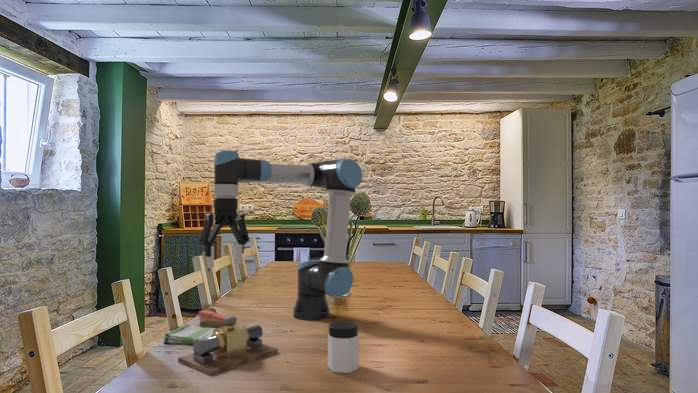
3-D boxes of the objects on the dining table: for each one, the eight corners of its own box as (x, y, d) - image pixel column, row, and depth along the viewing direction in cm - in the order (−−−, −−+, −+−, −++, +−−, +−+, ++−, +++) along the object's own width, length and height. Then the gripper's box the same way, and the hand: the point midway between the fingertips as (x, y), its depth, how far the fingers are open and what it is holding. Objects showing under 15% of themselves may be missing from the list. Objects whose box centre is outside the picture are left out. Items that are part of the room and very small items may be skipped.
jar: (342, 360, 129) (342, 319, 129) (364, 367, 124) (364, 324, 124) (321, 368, 122) (321, 325, 123) (343, 376, 117) (343, 331, 117)
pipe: (231, 318, 158) (243, 308, 168) (189, 315, 161) (203, 305, 171) (232, 335, 159) (243, 324, 168) (190, 332, 162) (204, 321, 172)
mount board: (244, 342, 146) (244, 338, 146) (277, 352, 136) (277, 348, 136) (178, 361, 127) (178, 357, 127) (210, 375, 117) (210, 370, 117)
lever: (238, 322, 132) (238, 317, 132) (228, 325, 129) (228, 319, 129) (207, 314, 142) (207, 309, 142) (197, 316, 139) (197, 311, 139)
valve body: (251, 341, 142) (251, 315, 142) (265, 346, 138) (266, 318, 138) (189, 360, 125) (190, 329, 125) (204, 365, 120) (204, 334, 121)
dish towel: (186, 330, 160) (186, 320, 161) (246, 333, 158) (247, 323, 158) (161, 345, 143) (161, 334, 144) (228, 348, 141) (228, 337, 141)
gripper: (246, 198, 155) (245, 261, 155) (187, 197, 137) (186, 267, 137) (260, 198, 150) (259, 262, 150) (201, 196, 133) (200, 270, 132)
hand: (224, 265), depth 143 cm, fingers open, 10 cm apart
